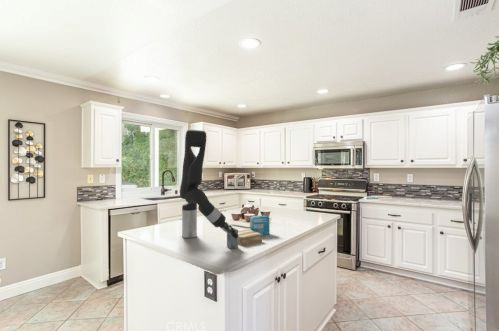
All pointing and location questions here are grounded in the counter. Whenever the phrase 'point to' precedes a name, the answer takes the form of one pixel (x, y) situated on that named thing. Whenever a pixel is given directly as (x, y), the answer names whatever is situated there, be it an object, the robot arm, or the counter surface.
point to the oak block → (248, 237)
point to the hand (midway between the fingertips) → (234, 236)
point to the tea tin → (232, 240)
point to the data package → (260, 224)
